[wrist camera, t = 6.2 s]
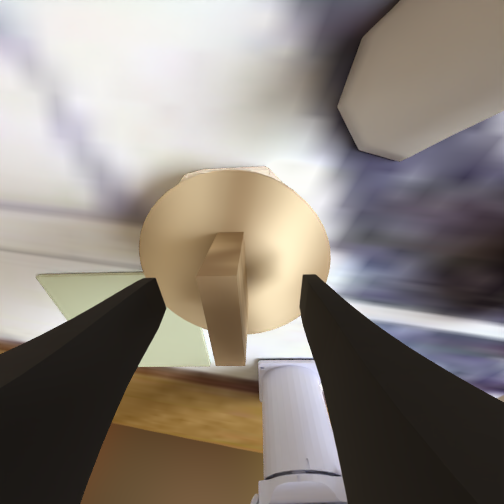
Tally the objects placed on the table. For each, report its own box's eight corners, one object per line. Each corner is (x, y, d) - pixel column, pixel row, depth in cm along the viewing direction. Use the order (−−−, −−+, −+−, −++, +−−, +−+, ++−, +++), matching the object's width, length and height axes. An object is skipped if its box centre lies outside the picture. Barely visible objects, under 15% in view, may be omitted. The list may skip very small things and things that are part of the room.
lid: (340, 164, 9) (421, 174, 5) (313, 323, 14) (338, 398, 10) (120, 173, 9) (-1, 190, 5) (172, 324, 15) (136, 397, 10)
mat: (210, 363, 23) (209, 366, 23) (103, 363, 24) (101, 366, 23) (187, 271, 16) (186, 273, 16) (40, 274, 17) (35, 277, 17)
